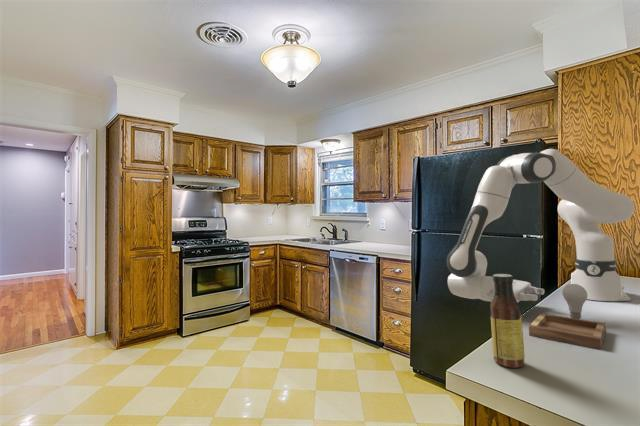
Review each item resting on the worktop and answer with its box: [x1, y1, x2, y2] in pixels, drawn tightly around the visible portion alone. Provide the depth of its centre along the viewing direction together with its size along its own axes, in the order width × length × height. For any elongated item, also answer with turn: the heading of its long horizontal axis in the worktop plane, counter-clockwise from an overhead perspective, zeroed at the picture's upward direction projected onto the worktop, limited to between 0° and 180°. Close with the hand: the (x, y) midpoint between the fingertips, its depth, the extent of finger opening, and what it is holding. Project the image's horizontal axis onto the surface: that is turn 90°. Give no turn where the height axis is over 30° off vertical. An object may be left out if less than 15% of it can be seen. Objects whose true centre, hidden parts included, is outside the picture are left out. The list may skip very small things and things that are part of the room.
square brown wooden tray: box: [528, 313, 607, 350], centre depth 92 cm, size 15×15×2 cm
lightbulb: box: [562, 283, 588, 319], centre depth 103 cm, size 6×6×11 cm
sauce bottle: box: [489, 273, 526, 369], centre depth 76 cm, size 7×6×20 cm
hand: (540, 294), depth 109 cm, fingers open, 8 cm apart
